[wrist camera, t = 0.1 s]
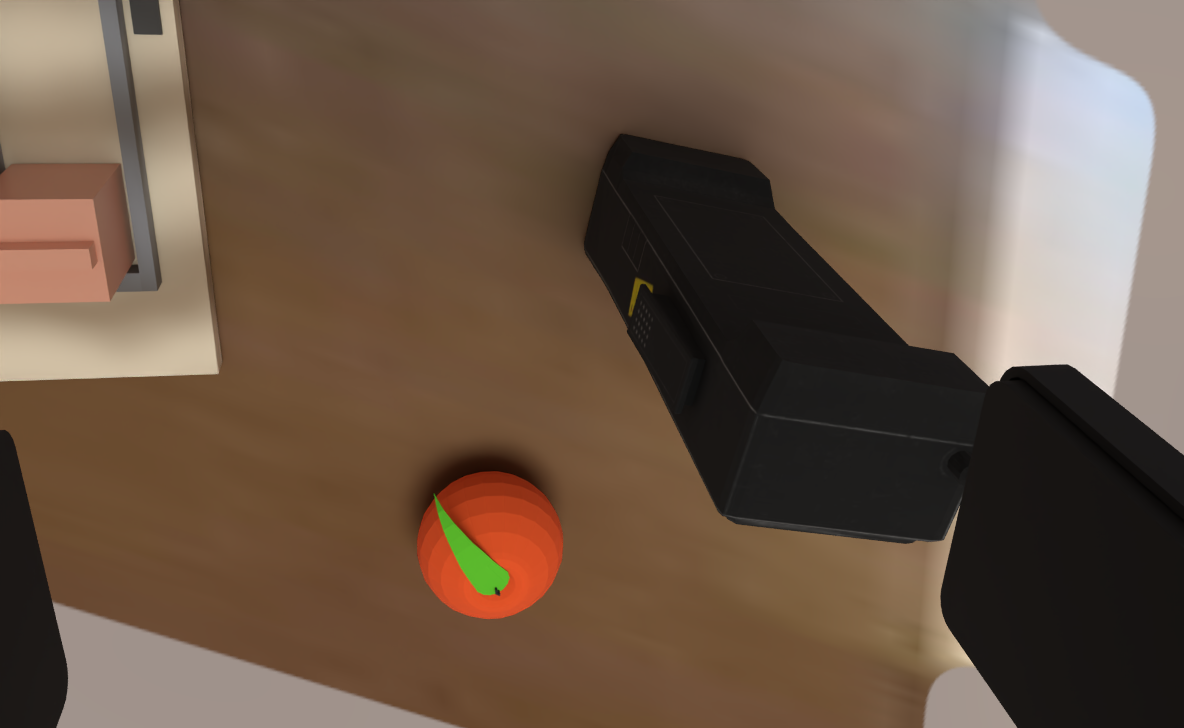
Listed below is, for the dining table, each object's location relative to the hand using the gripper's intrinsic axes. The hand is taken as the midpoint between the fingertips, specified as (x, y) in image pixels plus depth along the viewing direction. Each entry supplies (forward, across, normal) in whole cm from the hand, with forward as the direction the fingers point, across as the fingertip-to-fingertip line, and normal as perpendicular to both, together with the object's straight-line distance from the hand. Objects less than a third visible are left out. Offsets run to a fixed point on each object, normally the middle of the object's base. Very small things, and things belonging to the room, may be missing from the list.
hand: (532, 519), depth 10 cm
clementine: (+37, -2, +24) cm, 44 cm away
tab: (+35, +14, +8) cm, 39 cm away
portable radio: (+37, -10, +9) cm, 39 cm away
